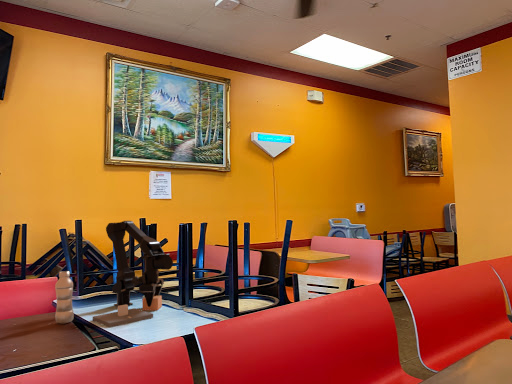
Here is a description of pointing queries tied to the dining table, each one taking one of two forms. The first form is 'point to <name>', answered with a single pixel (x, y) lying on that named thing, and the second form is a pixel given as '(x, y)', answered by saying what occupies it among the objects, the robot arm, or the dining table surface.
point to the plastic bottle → (64, 298)
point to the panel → (122, 316)
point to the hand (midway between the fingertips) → (152, 304)
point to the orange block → (153, 303)
